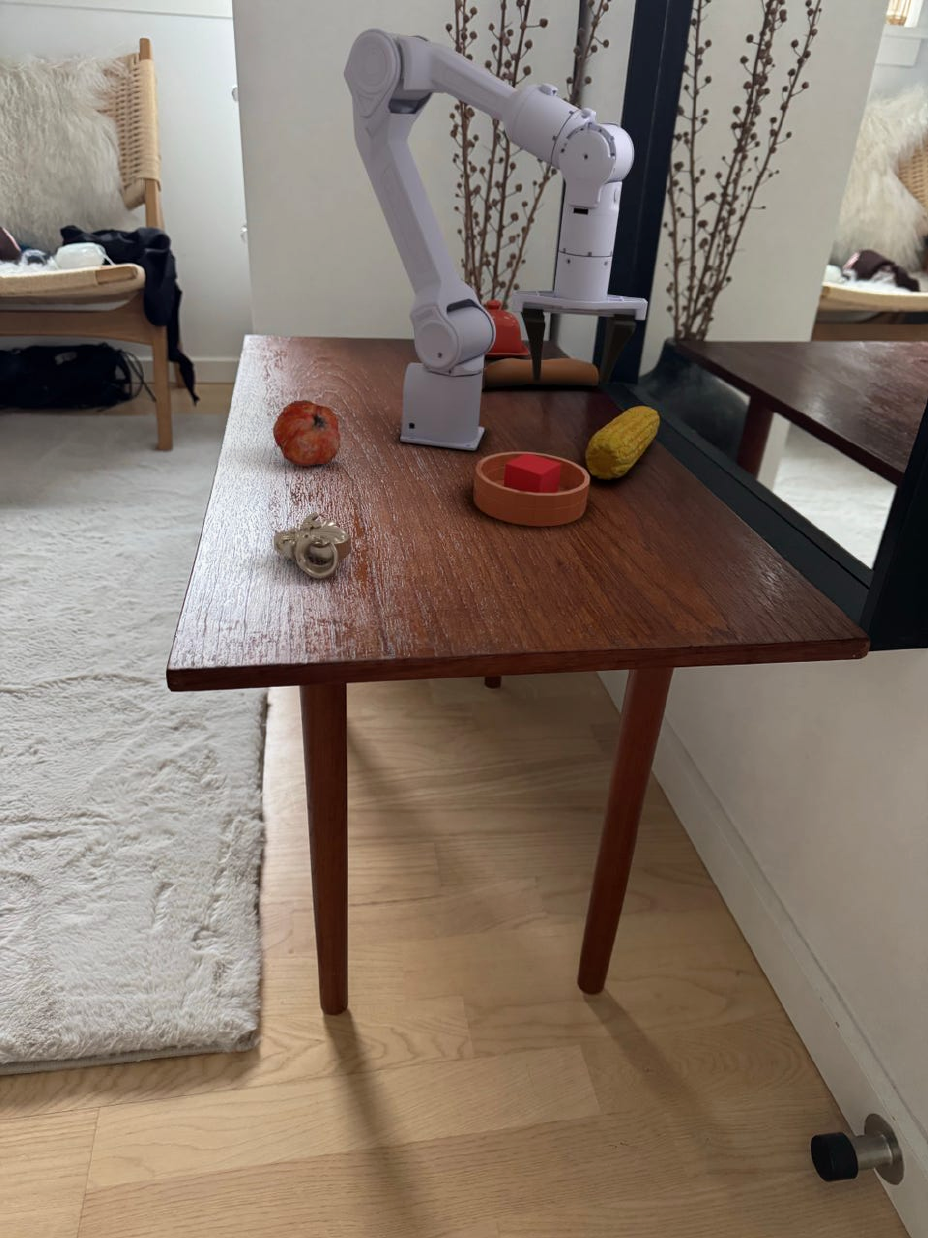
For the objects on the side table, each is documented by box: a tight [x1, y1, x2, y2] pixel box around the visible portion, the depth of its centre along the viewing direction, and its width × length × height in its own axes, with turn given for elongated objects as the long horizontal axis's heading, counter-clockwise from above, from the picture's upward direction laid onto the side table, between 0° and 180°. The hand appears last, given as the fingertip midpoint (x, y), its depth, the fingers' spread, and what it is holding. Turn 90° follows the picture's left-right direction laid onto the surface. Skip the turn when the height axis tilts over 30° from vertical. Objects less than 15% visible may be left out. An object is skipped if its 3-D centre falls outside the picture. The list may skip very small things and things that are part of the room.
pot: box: [472, 451, 591, 527], centre depth 95 cm, size 12×12×4 cm
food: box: [584, 405, 661, 481], centre depth 109 cm, size 21×6×6 cm, turn 157°
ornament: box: [272, 511, 351, 579], centre depth 80 cm, size 8×7×4 cm
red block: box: [503, 453, 561, 493], centre depth 95 cm, size 4×4×4 cm
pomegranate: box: [272, 399, 341, 468], centre depth 100 cm, size 7×7×10 cm
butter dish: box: [484, 299, 531, 359], centre depth 147 cm, size 12×12×8 cm
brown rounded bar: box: [482, 357, 600, 390], centre depth 134 cm, size 18×7×7 cm
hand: (569, 380), depth 101 cm, fingers open, 7 cm apart
